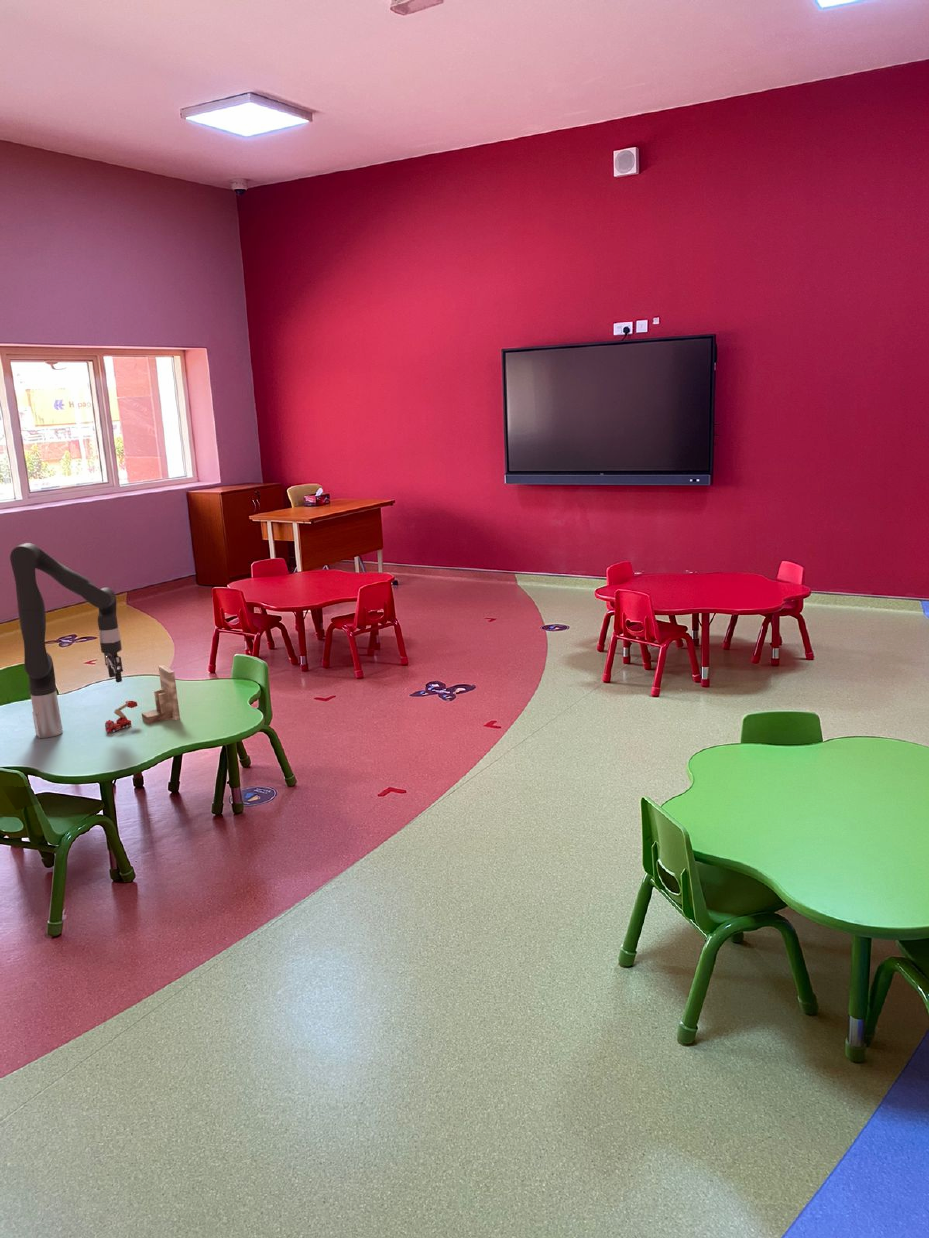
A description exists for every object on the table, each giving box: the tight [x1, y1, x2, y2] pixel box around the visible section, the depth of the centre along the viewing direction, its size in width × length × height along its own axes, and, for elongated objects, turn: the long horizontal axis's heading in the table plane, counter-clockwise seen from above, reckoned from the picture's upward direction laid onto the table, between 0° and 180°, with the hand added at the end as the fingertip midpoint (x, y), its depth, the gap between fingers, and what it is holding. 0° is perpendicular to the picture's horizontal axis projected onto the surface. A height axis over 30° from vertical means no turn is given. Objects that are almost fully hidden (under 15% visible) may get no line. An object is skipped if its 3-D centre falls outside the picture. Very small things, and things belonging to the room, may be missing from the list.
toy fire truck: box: [104, 700, 138, 734], centre depth 362 cm, size 3×14×10 cm, turn 143°
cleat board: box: [141, 664, 181, 725], centre depth 370 cm, size 12×13×20 cm
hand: (115, 679), depth 359 cm, fingers open, 8 cm apart
